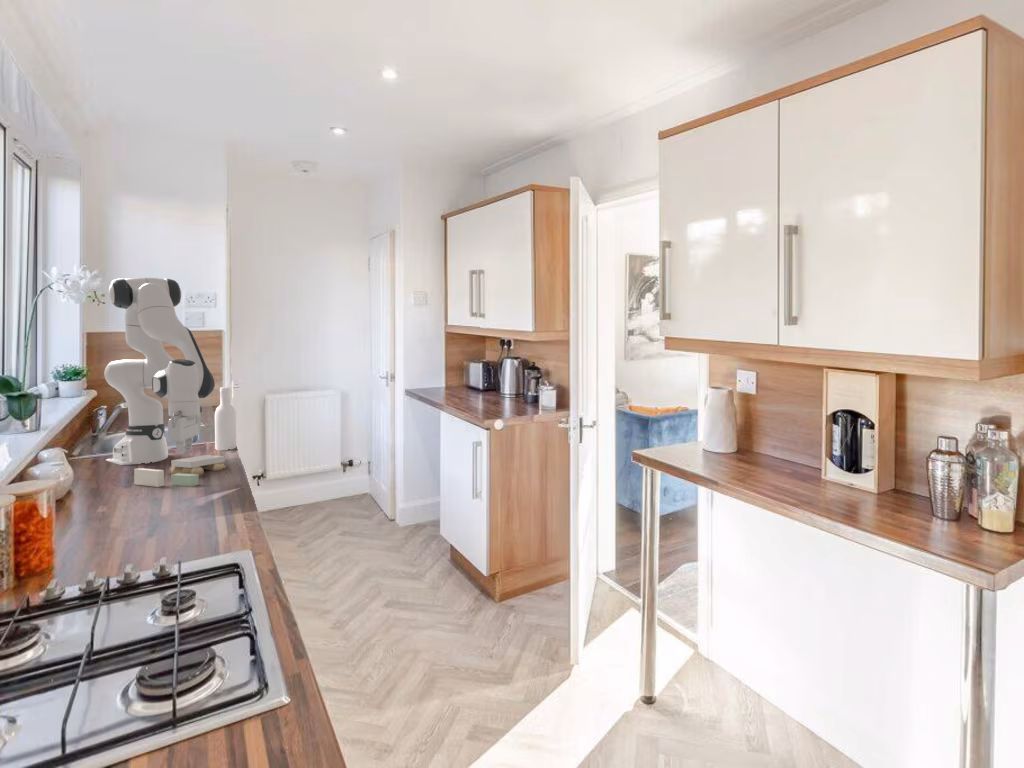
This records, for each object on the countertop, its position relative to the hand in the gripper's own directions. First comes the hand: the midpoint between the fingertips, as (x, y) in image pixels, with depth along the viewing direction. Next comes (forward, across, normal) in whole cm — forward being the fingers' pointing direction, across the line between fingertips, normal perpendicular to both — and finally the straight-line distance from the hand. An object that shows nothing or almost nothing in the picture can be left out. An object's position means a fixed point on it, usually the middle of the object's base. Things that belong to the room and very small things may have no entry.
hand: (184, 452), depth 190 cm
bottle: (+12, +51, 0) cm, 52 cm away
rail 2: (+11, +19, -2) cm, 22 cm away
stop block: (+10, +1, +11) cm, 15 cm away
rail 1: (+11, +12, +3) cm, 16 cm away
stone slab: (+7, +16, +1) cm, 18 cm away
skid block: (+11, -1, 0) cm, 11 cm away
